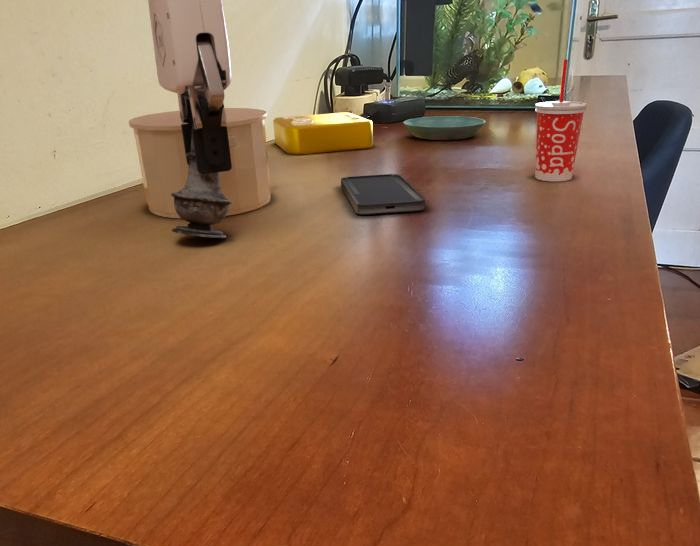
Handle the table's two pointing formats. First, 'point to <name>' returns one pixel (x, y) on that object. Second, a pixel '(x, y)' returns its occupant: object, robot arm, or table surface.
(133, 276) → the table surface
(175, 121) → the pot lid
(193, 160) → the salt shaker
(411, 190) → the phone
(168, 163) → the pot
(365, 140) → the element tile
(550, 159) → the beverage cup
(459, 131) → the saucer
